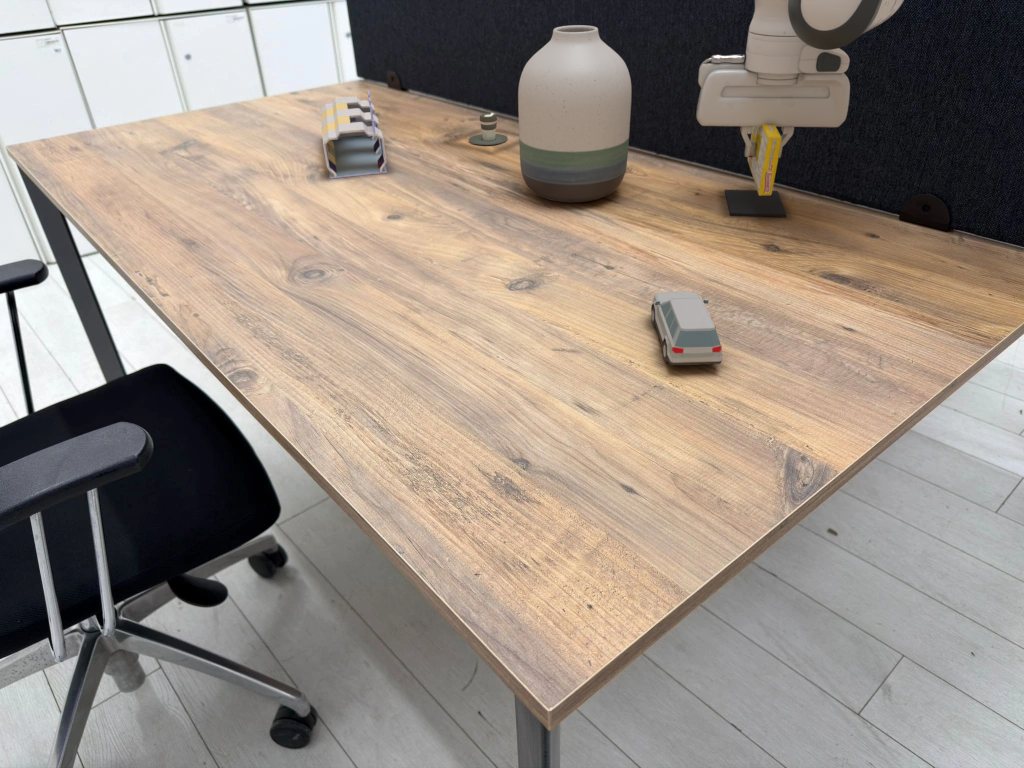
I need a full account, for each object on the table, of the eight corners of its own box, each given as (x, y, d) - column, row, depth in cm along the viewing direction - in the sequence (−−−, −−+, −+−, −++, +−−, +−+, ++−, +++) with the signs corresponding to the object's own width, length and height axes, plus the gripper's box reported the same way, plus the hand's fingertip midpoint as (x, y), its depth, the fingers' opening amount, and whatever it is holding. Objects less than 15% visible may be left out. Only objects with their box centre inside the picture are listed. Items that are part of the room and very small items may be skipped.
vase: (646, 189, 117) (659, 25, 103) (580, 220, 107) (584, 43, 93) (566, 168, 126) (568, 16, 113) (498, 195, 116) (491, 31, 103)
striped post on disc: (446, 142, 142) (444, 116, 139) (487, 128, 149) (486, 103, 146) (492, 153, 135) (491, 125, 132) (532, 137, 142) (532, 111, 140)
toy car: (696, 312, 83) (701, 272, 80) (723, 374, 72) (730, 331, 70) (646, 313, 83) (649, 274, 80) (666, 376, 72) (670, 333, 70)
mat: (777, 193, 113) (777, 190, 113) (786, 217, 105) (786, 214, 105) (724, 191, 115) (725, 189, 114) (729, 215, 106) (730, 212, 106)
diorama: (388, 172, 128) (378, 95, 120) (329, 178, 126) (315, 100, 118) (377, 134, 148) (368, 66, 140) (326, 139, 146) (314, 70, 138)
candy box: (774, 196, 101) (782, 136, 96) (758, 196, 101) (765, 136, 96) (760, 160, 114) (767, 105, 109) (746, 160, 114) (753, 106, 110)
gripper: (701, 59, 97) (690, 161, 105) (862, 58, 94) (839, 164, 102) (699, 50, 102) (689, 148, 110) (852, 49, 99) (830, 151, 107)
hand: (762, 156), depth 106 cm, fingers closed on candy box, 2 cm apart
